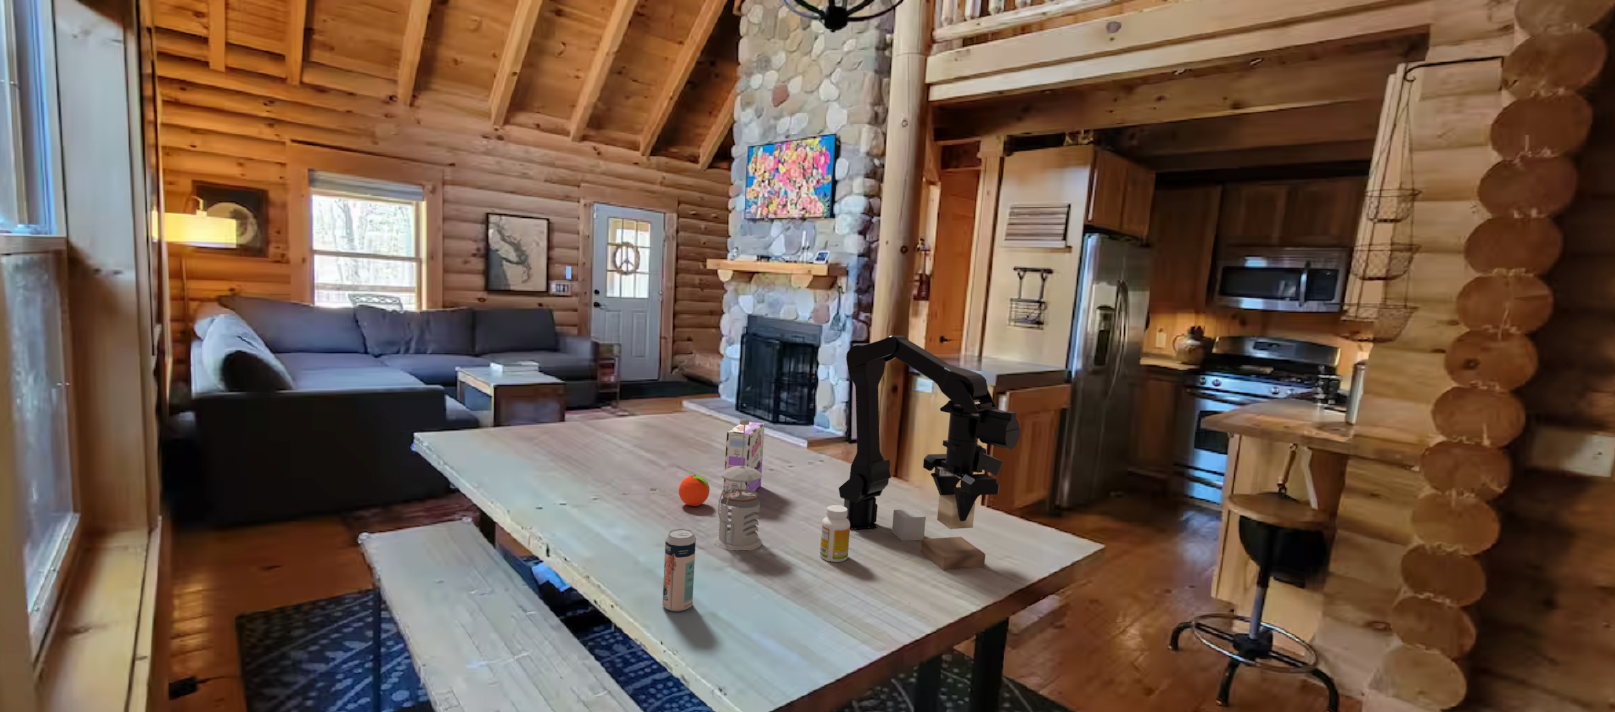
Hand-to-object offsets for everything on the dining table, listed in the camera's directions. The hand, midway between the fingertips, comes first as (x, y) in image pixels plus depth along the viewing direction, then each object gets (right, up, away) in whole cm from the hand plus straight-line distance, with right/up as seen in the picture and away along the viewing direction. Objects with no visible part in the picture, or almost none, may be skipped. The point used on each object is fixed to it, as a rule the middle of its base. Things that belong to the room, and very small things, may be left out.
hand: (955, 516), depth 136 cm
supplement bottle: (-24, -8, -2) cm, 25 cm away
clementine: (-54, -3, +22) cm, 59 cm away
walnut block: (-1, -9, +1) cm, 9 cm away
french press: (-43, -6, +2) cm, 44 cm away
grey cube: (-8, -7, +12) cm, 16 cm away
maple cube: (0, -2, 0) cm, 2 cm away
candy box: (-45, -2, +34) cm, 56 cm away
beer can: (-49, -9, -26) cm, 56 cm away
